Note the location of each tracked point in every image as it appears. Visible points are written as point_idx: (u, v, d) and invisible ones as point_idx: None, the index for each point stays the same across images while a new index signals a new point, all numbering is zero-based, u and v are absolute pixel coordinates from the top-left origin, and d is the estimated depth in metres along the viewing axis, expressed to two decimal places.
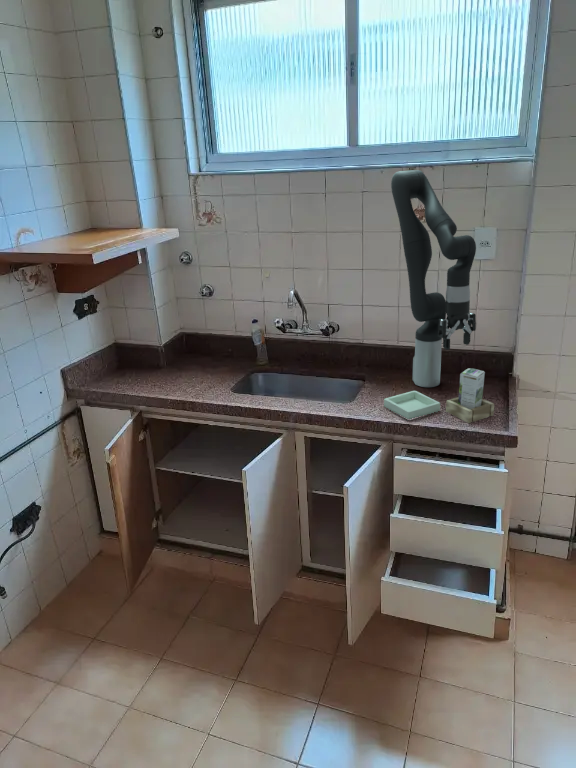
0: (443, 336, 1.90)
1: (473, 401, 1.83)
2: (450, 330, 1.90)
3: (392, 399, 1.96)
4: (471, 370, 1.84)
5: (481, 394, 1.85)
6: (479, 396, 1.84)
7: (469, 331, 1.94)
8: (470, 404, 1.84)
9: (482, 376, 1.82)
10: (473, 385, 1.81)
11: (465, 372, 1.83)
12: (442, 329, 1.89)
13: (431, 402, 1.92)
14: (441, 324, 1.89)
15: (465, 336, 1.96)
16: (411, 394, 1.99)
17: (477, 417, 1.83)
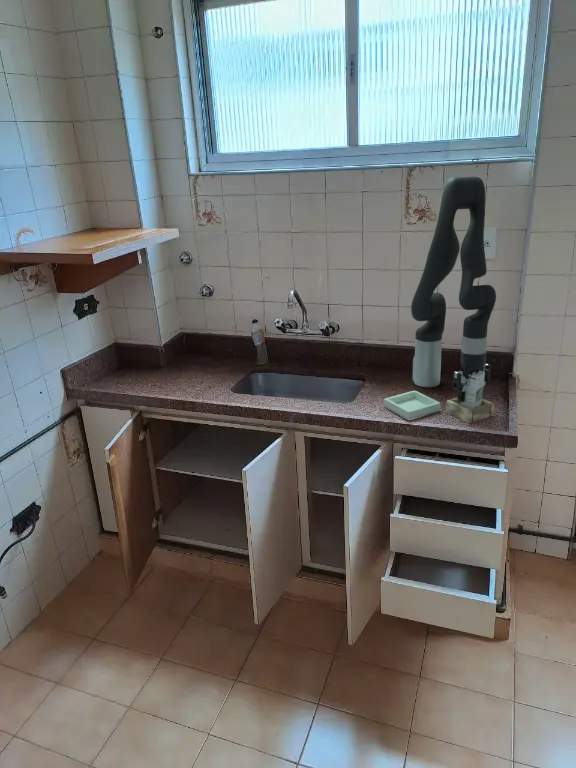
0: (458, 389, 1.81)
1: (473, 401, 1.83)
2: (465, 382, 1.81)
3: (392, 399, 1.96)
4: None
5: (481, 394, 1.85)
6: (479, 396, 1.84)
7: None
8: (470, 404, 1.84)
9: (482, 376, 1.82)
10: (473, 385, 1.81)
11: None
12: (457, 382, 1.80)
13: (431, 402, 1.92)
14: (456, 377, 1.80)
15: None
16: (411, 394, 1.99)
17: (477, 417, 1.83)
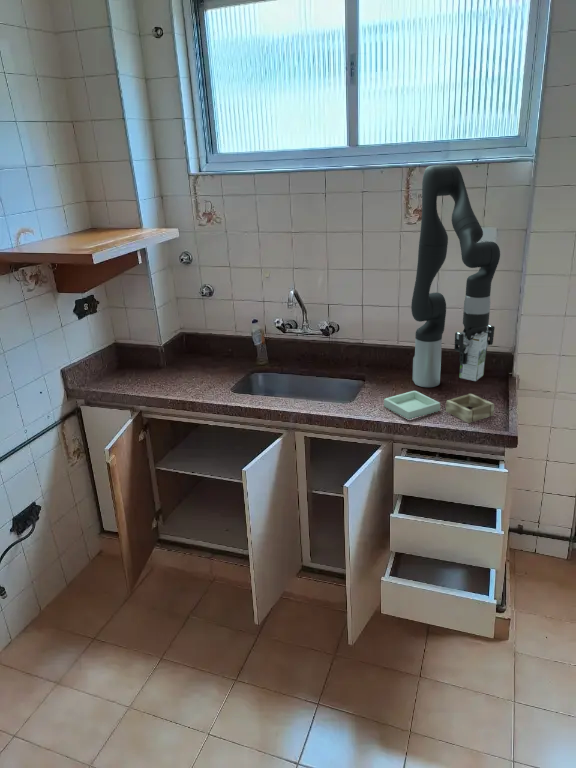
0: (460, 350, 1.76)
1: (475, 363, 1.78)
2: (467, 344, 1.77)
3: (392, 399, 1.96)
4: None
5: (484, 357, 1.80)
6: (481, 358, 1.79)
7: None
8: (472, 366, 1.79)
9: (485, 338, 1.78)
10: (476, 347, 1.76)
11: None
12: (459, 343, 1.75)
13: (431, 402, 1.92)
14: (458, 338, 1.75)
15: None
16: (411, 394, 1.99)
17: (477, 417, 1.83)
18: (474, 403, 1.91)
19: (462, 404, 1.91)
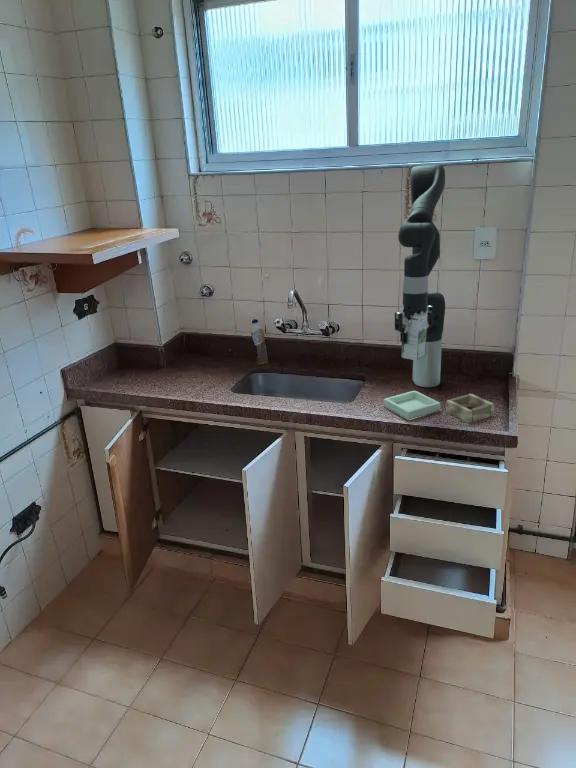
0: (400, 330, 1.79)
1: (415, 342, 1.81)
2: (407, 323, 1.80)
3: (392, 399, 1.96)
4: None
5: (424, 336, 1.84)
6: (422, 338, 1.83)
7: None
8: (413, 346, 1.82)
9: (425, 317, 1.81)
10: (415, 326, 1.80)
11: None
12: (398, 323, 1.79)
13: (431, 402, 1.92)
14: (397, 317, 1.79)
15: None
16: (411, 394, 1.99)
17: (477, 417, 1.83)
18: (474, 403, 1.91)
19: (462, 404, 1.91)
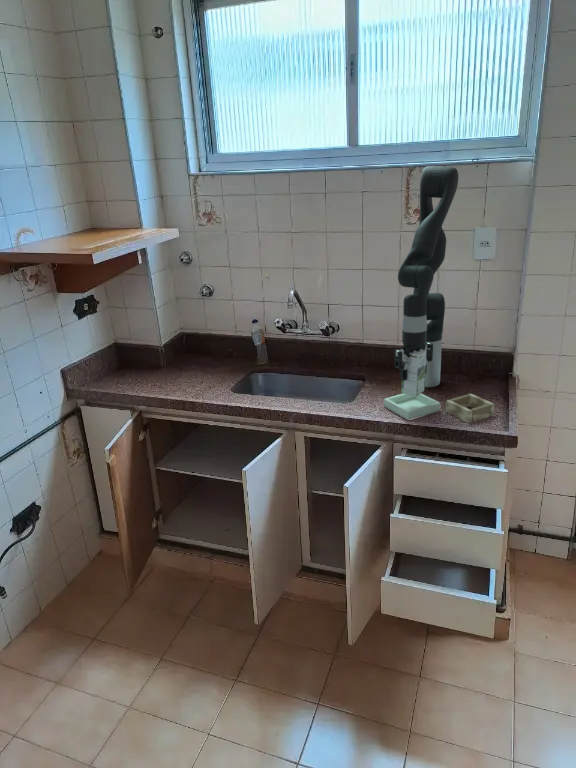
0: (399, 367, 1.84)
1: (415, 379, 1.86)
2: (406, 361, 1.84)
3: (392, 399, 1.96)
4: None
5: (424, 373, 1.88)
6: (421, 374, 1.87)
7: None
8: (412, 382, 1.87)
9: (424, 354, 1.85)
10: (414, 363, 1.84)
11: None
12: (398, 360, 1.83)
13: (431, 402, 1.92)
14: (397, 355, 1.83)
15: None
16: None
17: (477, 417, 1.83)
18: (474, 403, 1.91)
19: (462, 404, 1.91)
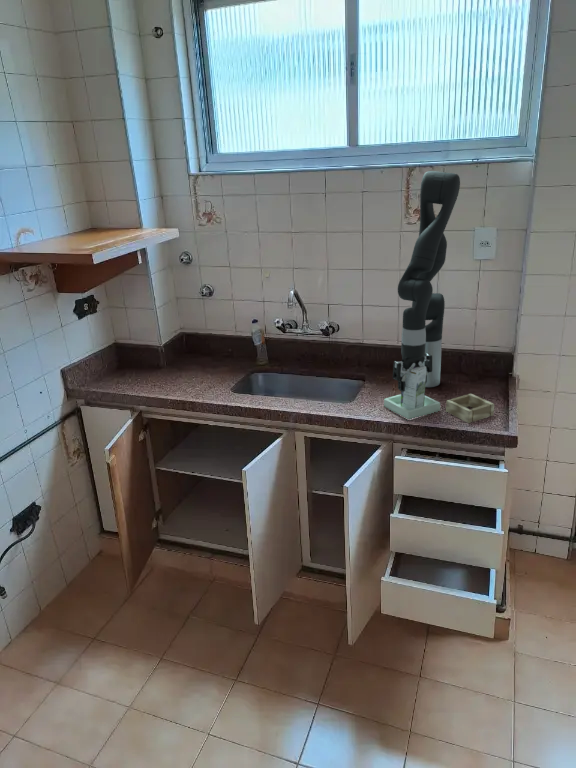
0: (397, 379, 1.85)
1: (414, 394, 1.88)
2: (405, 372, 1.86)
3: (392, 399, 1.96)
4: None
5: (423, 388, 1.90)
6: (420, 390, 1.89)
7: None
8: (411, 397, 1.89)
9: (423, 371, 1.88)
10: (413, 379, 1.86)
11: None
12: (396, 372, 1.85)
13: (431, 402, 1.92)
14: (396, 366, 1.85)
15: None
16: None
17: (477, 417, 1.83)
18: (474, 403, 1.91)
19: (462, 404, 1.91)
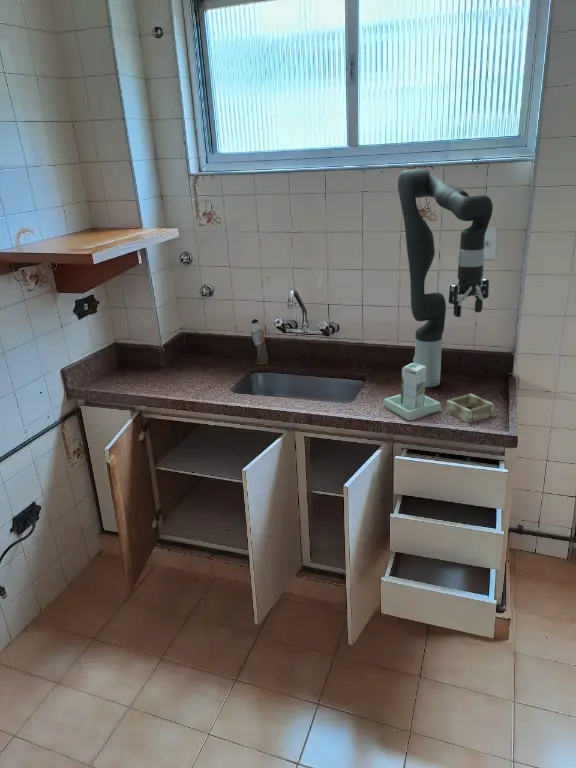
0: (454, 302, 1.81)
1: (414, 394, 1.88)
2: (461, 296, 1.81)
3: (392, 399, 1.96)
4: (413, 365, 1.89)
5: (423, 388, 1.90)
6: (420, 390, 1.89)
7: (481, 298, 1.85)
8: (411, 397, 1.89)
9: (423, 371, 1.88)
10: (413, 379, 1.86)
11: (407, 366, 1.88)
12: (453, 295, 1.80)
13: (431, 402, 1.92)
14: (452, 289, 1.80)
15: (477, 303, 1.87)
16: None
17: (477, 417, 1.83)
18: (474, 403, 1.91)
19: (462, 404, 1.91)
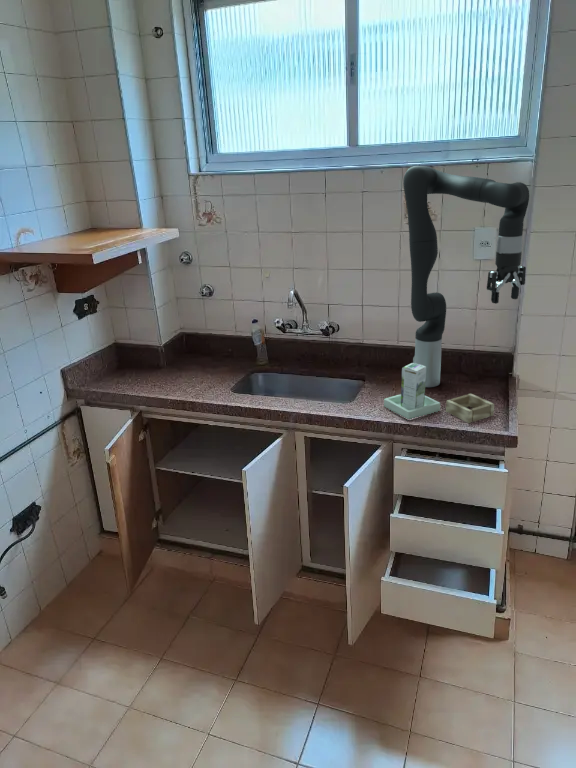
0: (492, 289, 1.83)
1: (414, 394, 1.88)
2: (500, 283, 1.83)
3: (392, 399, 1.96)
4: (413, 365, 1.89)
5: (423, 388, 1.90)
6: (420, 390, 1.89)
7: (518, 285, 1.87)
8: (411, 397, 1.89)
9: (423, 371, 1.88)
10: (413, 379, 1.86)
11: (407, 366, 1.88)
12: (492, 281, 1.82)
13: (431, 402, 1.92)
14: (491, 276, 1.82)
15: (513, 290, 1.89)
16: None
17: (477, 417, 1.83)
18: (474, 403, 1.91)
19: (462, 404, 1.91)
